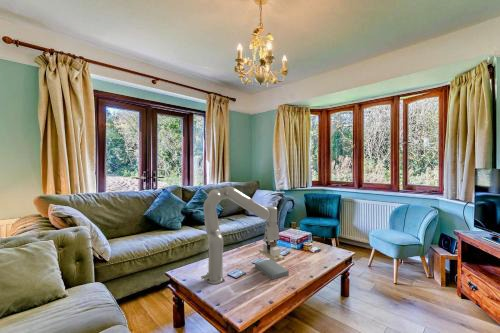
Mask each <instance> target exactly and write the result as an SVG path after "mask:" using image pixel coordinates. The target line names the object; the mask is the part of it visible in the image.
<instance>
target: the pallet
mask: <svg viewBox="0 0 500 333" xmlns="http://www.w3.org/2000/svg"><path fill="white" fill-rule="evenodd" d="M271 247H277V243H275V242H274V241H270V248H271ZM259 253H260V254H262V255H264V256H265V257H266V258H268V260H269V259H271V260H273V261H274V262H276V263H278V262H280V261H285V256H284V255H282V254H280V256H277V257H273V256H272V255H270V250H268V249H267V252H265V251H264V250H263V248H260V249H259Z"/></svg>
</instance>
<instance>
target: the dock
mask: <svg viewBox="0 0 500 333" xmlns="http://www.w3.org/2000/svg"><path fill="white" fill-rule="evenodd" d="M255 268H256V269H257V270H259V271H260V272H262V273H263V274H264V275H266V277H268V278H270V279H271V280H275V279H278V278H282V277H286V276H287V277H290V275H289V272H290V270H288V269H287V268H286V267H283V266H282V265H280V264H279V263H278V262H274V261H273V260H271V259H269V258H268V259H266V260H262V261H258V262H255Z"/></svg>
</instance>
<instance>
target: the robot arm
mask: <svg viewBox="0 0 500 333" xmlns="http://www.w3.org/2000/svg"><path fill="white" fill-rule="evenodd" d="M204 200H205V201H204V203H203V208H202V209H203V215H204V227H205V231H206V236H207V240H208V254H207V255H208V272H206V274H205V275H201V276H200V278H201V280H205V281H206V282H207V283H209V284H211V285H218V284H221V283H223V282H224V281H225V278H224V277H223V273H224V272H223V269H224V268H223V267H224V265H223V264H224V262H223V259H224V258H223V257H224V256H223V255H224V253H223V252H224V238H223V235H222V233H221V229H220V220H219V218H218V217H219V215H218V212H217V205H218V204H219V203H221V201H222V200H229V201H231V202H233V203H235V204H236V205H238V206H239V207H241V208H242V209H244V210H245V211H248V212H250V213H252V214H253V215H255V216H256V217H258V218H260V219H261V220H266V223H265V227H264V228H265V229H264V237H263V239H262V241H263V242H264V243H266V244H267V249H268V250H270V242H272V241H273V242H275V243H276V244H277V243H278V241H279V240H280V238H281V236H280V231H279V230H280V228H279V225H278V208H277V207H276V206H263V205H261V204H259V203H258V202H256V201H255V200H254V199H252V198H251V197H249V196H248V195H246V194H245V193H243V192H242V191H240V190H239V189H237V188H235V187H233V186H225V187H219V188H215V189H214V188H213V189H211V190H210V191H209V192H208V193H207V197H206V198H205V199H204Z"/></svg>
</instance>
